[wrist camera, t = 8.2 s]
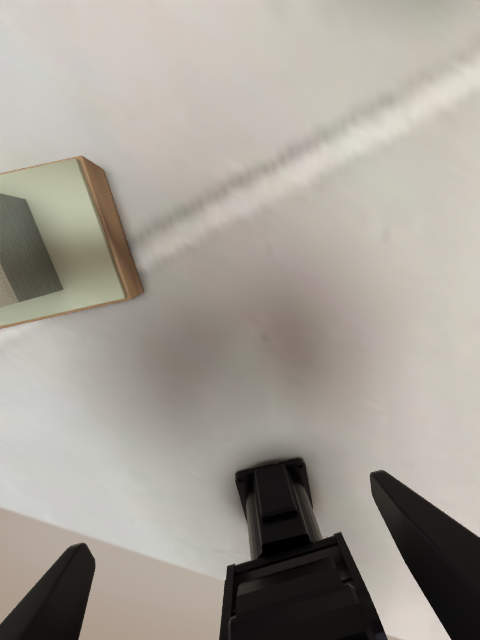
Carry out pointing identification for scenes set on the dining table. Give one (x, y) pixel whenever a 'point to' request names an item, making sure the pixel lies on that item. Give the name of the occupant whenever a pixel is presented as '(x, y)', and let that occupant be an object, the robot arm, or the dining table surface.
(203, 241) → the dining table surface
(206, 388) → the dining table surface
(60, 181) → the riser
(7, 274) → the block
